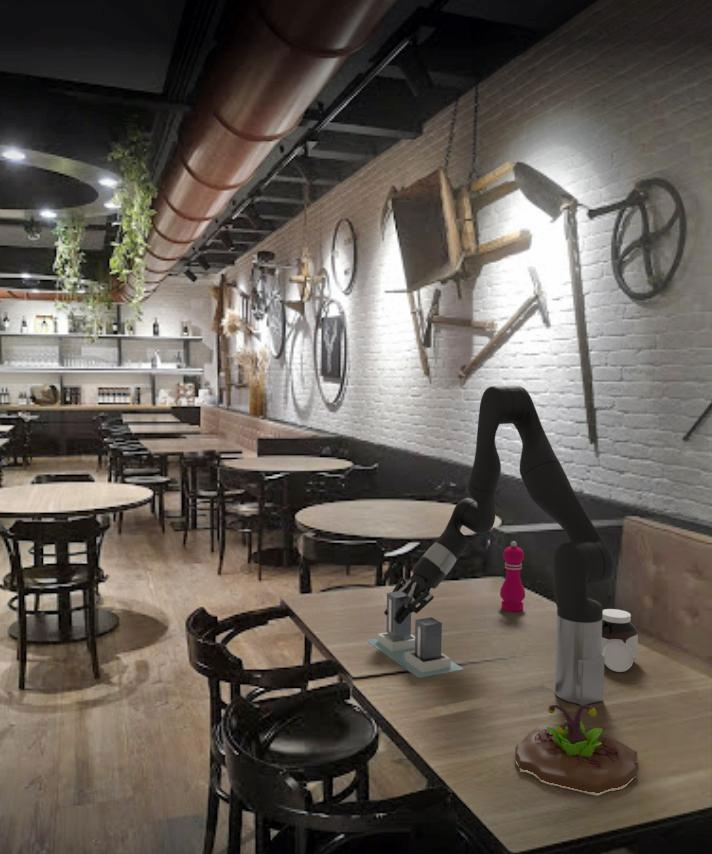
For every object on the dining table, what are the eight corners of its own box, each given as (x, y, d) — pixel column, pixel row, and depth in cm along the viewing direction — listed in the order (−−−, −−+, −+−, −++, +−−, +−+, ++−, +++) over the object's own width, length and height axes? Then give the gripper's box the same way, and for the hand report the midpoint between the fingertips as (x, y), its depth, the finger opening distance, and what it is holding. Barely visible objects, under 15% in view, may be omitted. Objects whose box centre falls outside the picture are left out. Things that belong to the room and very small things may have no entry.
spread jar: (619, 652, 187) (620, 606, 186) (653, 669, 177) (655, 620, 176) (580, 659, 182) (581, 611, 182) (612, 676, 172) (614, 626, 171)
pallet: (464, 675, 172) (464, 660, 171) (418, 684, 166) (418, 668, 166) (407, 639, 195) (407, 625, 195) (365, 646, 190) (365, 632, 189)
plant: (612, 810, 119) (615, 741, 118) (500, 770, 131) (501, 707, 130) (650, 760, 135) (652, 698, 134) (546, 728, 147) (548, 672, 146)
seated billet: (441, 665, 173) (441, 623, 173) (423, 669, 171) (424, 625, 171) (430, 659, 177) (431, 617, 177) (413, 662, 175) (414, 620, 175)
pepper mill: (523, 605, 225) (525, 538, 224) (526, 612, 218) (528, 544, 216) (498, 604, 226) (500, 538, 224) (500, 611, 218) (502, 543, 217)
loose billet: (410, 635, 186) (411, 595, 185) (394, 638, 184) (394, 597, 183) (401, 629, 190) (402, 590, 189) (385, 632, 188) (386, 593, 187)
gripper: (411, 549, 195) (368, 601, 191) (441, 562, 182) (396, 618, 178) (428, 567, 198) (387, 619, 193) (459, 581, 185) (415, 637, 181)
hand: (391, 618), depth 186 cm, fingers closed on loose billet, 4 cm apart
